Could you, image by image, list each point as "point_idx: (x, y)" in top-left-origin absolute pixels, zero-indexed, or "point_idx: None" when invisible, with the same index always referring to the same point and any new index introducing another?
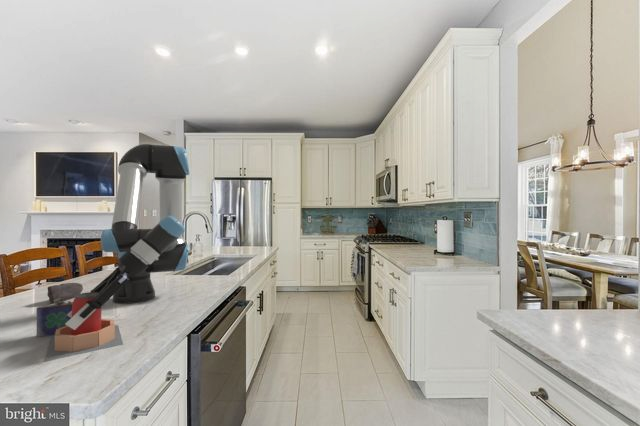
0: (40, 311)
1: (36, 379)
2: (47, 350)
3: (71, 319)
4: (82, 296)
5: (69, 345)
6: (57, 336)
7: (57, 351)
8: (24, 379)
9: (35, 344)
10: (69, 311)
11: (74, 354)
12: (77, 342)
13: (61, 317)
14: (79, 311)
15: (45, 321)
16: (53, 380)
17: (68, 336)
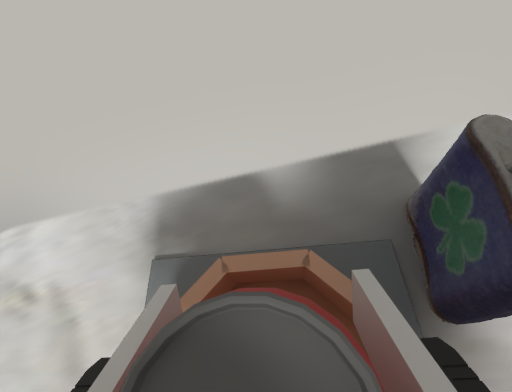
0: (458, 142)
1: (57, 264)
2: (246, 252)
3: (146, 311)
4: (239, 379)
5: None
6: (210, 268)
7: None
8: (82, 239)
9: (345, 209)
10: (495, 269)
11: None
12: None
13: (468, 242)
14: (113, 357)
15: (440, 190)
16: (11, 305)
17: None
